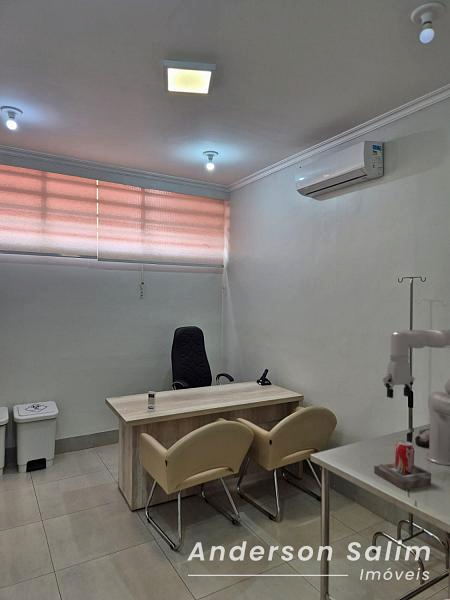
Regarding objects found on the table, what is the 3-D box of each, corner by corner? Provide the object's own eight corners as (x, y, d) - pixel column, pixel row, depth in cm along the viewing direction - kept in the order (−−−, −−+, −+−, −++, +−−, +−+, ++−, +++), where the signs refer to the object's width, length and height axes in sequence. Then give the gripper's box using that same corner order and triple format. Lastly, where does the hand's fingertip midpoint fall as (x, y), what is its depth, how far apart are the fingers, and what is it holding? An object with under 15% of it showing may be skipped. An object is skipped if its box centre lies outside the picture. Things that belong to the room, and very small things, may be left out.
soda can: (402, 476, 156) (403, 446, 156) (390, 469, 163) (391, 440, 163) (417, 475, 158) (418, 445, 158) (405, 468, 165) (406, 439, 165)
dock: (400, 469, 171) (400, 457, 171) (430, 485, 156) (431, 473, 156) (374, 473, 166) (374, 461, 167) (403, 490, 151) (403, 477, 152)
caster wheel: (421, 453, 199) (411, 443, 209) (442, 449, 199) (431, 439, 209) (419, 441, 198) (409, 431, 208) (441, 436, 198) (430, 427, 208)
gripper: (407, 357, 184) (406, 394, 184) (378, 358, 178) (377, 396, 178) (420, 359, 177) (419, 397, 177) (390, 360, 171) (389, 400, 171)
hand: (398, 396), depth 177 cm, fingers open, 9 cm apart
